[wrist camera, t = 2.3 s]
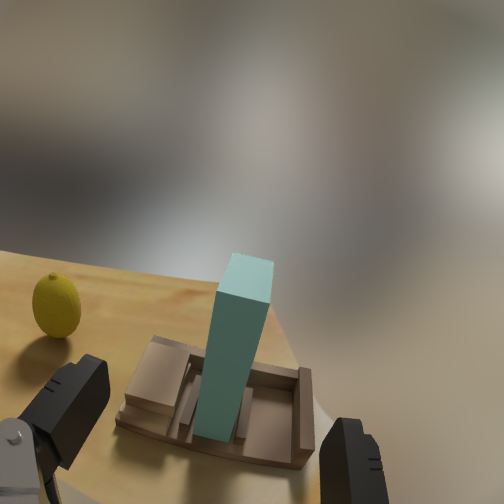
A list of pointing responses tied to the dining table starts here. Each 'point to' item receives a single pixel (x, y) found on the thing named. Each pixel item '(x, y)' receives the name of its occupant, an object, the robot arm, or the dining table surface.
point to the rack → (249, 416)
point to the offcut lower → (149, 415)
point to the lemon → (56, 305)
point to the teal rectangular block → (232, 343)
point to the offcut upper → (158, 379)
